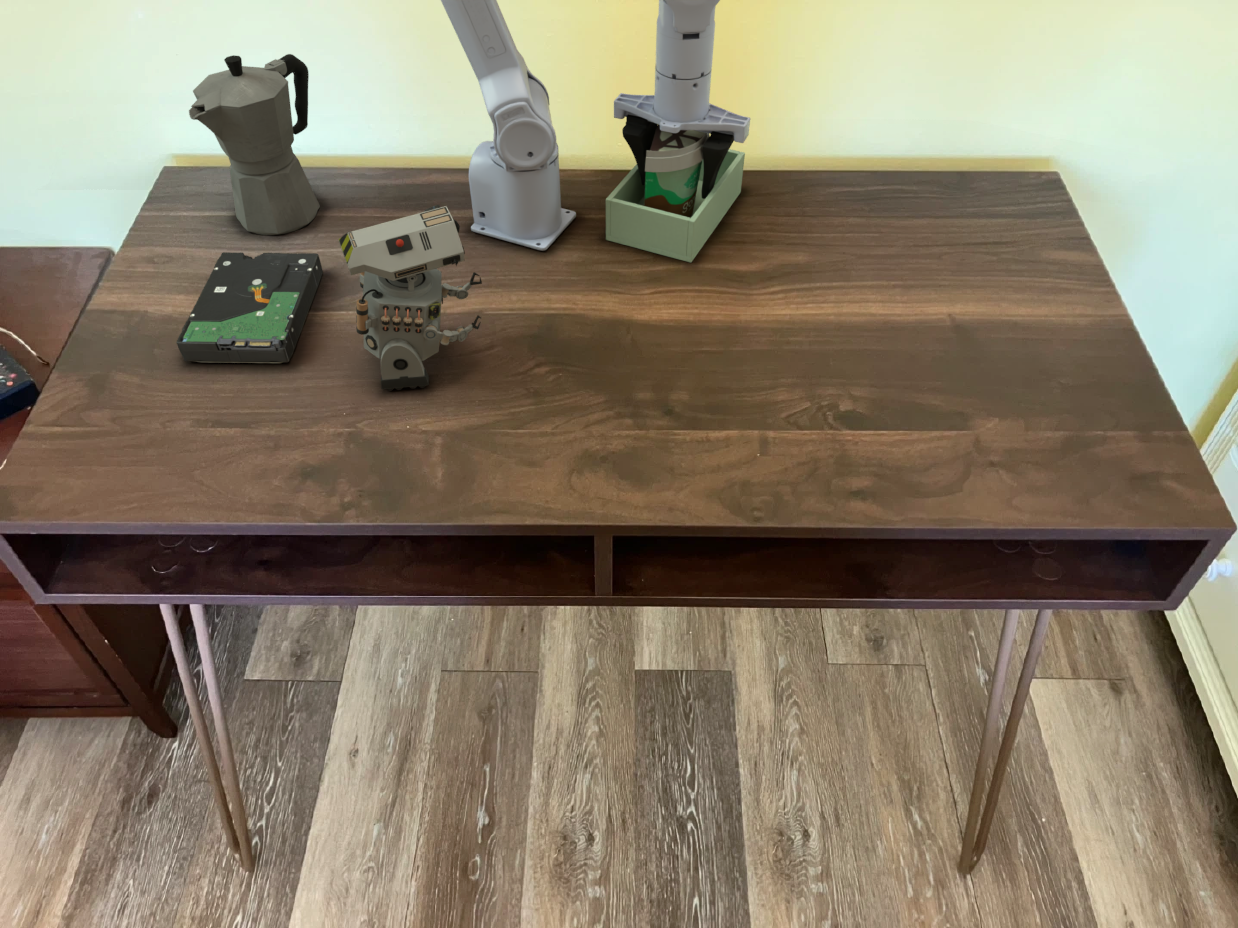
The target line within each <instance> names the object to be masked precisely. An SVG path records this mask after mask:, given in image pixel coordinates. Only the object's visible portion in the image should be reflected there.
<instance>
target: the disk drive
mask: <svg viewBox="0 0 1238 928" xmlns="http://www.w3.org/2000/svg"><path fill="white" fill-rule="evenodd" d="M323 273H324V270H323V267H322V263H321V259H320V255H319V253H315V252H312V253H308V252H304V253H303V252H302V253H301V252H300V253H299V252H298V253H295V252H294V253H293V252H292V253H289V252H262V253H261V254H259V255H257V256H254V258H253V257H252V256H249V255H247V254H246V255H245V253H244V252H237V251H236V252H231V251H230V252H225V251H223V252H221V254H220V256H219V258H218V259H217V260H216V262H215V264H214V266H213V269H212V270H211V272H210V275H209V277H208V279H207V280H206V283H205V285H204V286H203V289H202V291H201V293H200V295H199V296H198V298H197V300H196V302H195V304H194V306H193V308H192V310H191V312H190V314H189V315H188V318H187V320H186V321H185V323H184V325H183V327H182V328H181V332H180V334H179V335H178V337H177V340H176V345H177V348H178V350H179V352H180V354H181V356H182V359H183V361H184V362H197V363H223V364H224V363H227V364H228V363H232V364H233V363H234V364H235V363H237V364H240V363H242V364H243V363H248V364H251V363H252V364H282V363H288V362H290V360H291V358H292V356H293V354H294V351H295V348H296V346H297V343H298V340H299V338H300V335H301V333H302V330H303V327H304V324H305V321H306V319H307V316H308V314H309V311H310V308H311V306H312V303H313V301H314V298H315V296H316V292H317V290H318V287H319V285H320V281H321V278H322V276H323Z"/></svg>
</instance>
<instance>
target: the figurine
mask: <svg viewBox="0 0 1238 928" xmlns="http://www.w3.org/2000/svg"><path fill="white" fill-rule="evenodd" d="M460 228H461V227H460V224H459V222H458V221H457V220H456V219H454V218H453V216H452V214H451V211H450V210H449V209H448V205H445V206H441V205H440V204H434V205H433V206H430V207H427V208H426V209H424V210H423V212H418V213H415V214H412V215H411V214H410V215H407V216H403V217H400V218H396V219H393V220H388V221H385V222H382V223H378V224H374V225H370V226H367V227H364V228H359V229H356V230H352V231H349V232H346V233H345V234H344V235H342V236H341V237H340V238H338V239H337V240H338V243H339V246H340V248H341V252H342V254H343V257H344V261H345V264H346V266H347V268H348V271H349V273H350V276H354V275H358V274H359V287H360V288H361V289H362V297H361V298H358V299H357V300H356V307H355V312H356V315H355V323H356V330H355V331H356V333H357V334H359V335H360V336H361V335H362V336H363V349H365V350H366V351H368V352H369V354H370V353H371V354H372V355H373V356H374V357H376V358H378V359H379V360H380V390H387V391H389V392H391V391H393V390H394V389H395V390H397V391H401V390H402V389H403V388H410V389H412V390H413V389H414V390H415V389H417V387H419V388H420V389H424V388H426V386H429V385H430V383H429V382H430V380H429V379H430V377H429V374H428V371H427V369H426V368H425V367H424V364H423V362H424V361H425V360H427V359H429V358H431V357H432V356H434V355H435V354H437V353H439V350H440V345H443V346H449V345H450V342H451V343H453V342H456V341H458V342H460V343H461V342H464V341H465V340H466V339H467V337H468V333H470V332H471V331H473V329H475V330H479V329H480V326H481V321H479V319H482V316H480V315H479V314H478V315H477V316H476V317H475V318H474V321H473V322H471V323H470V324H468V325H467V326H465V327H464V326H462V325H460V326H458V327H457V328H456V329H455V330H450V329H449V330H448V329H444V330H443V331H441V318H442V317H441V315H442V305H444V299H447V297H450V298H451V297H455V298H456V299H458V300H465V299H467V298H468V296H469V290H470V289H471V288H472V287H473V286H476V285H482V284H483V282H482V278H481V275H480V274H478V273H477V272H475V271H474V272H473V273H472V275H471V277H470V280H469V281H468V282H467V283H466V284H464V285H457V286H453V285H450V284H448V283H446V282H445V283H442V282H443V281H442V279H443V278H442V271H441V270H439V269H440V268H444V267H447V266H451V265H455V266H456V267H457V266H458V265H459V263H461V262H464V261H466V259H465V258H466V257H465V254H466V252H465V251H466V250H465V248H464V245H462V241H461V238H460V235H459V232H460ZM475 276H477V277H479V281H475ZM478 321H479V323H478ZM477 323H478V324H477Z"/></svg>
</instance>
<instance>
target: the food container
mask: <svg viewBox="0 0 1238 928" xmlns="http://www.w3.org/2000/svg"><path fill="white" fill-rule="evenodd" d="M710 135H711V134H710V133H705V132H700V131H695V130H680V131H679V132H678V133H670V132H665V131H661V130H660V125H658V126H657V128H656V131H655V135H654V139H653V142H652V146H651V149H650V151H648V150H647V153H646V163H645V172H646V176H645V201H644V206H646V207H650V208H654V209H658V210H662V211H666V212H670V213H674V214H678V215H682V216H685V217H689V218H690V217H691V216H692V214H693V209H694V204H695V198H696V192H697V187H698V181H699V176H700V170H701V165H702V160H703V152H702V147H703V145H704V143H705V142H706V141H707V139H708V138H709V137H710Z"/></svg>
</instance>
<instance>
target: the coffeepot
mask: <svg viewBox="0 0 1238 928" xmlns="http://www.w3.org/2000/svg"><path fill="white" fill-rule="evenodd" d="M223 60H224V63H225V64H226V66H227V68H228V69H226V70H223V71H219V72H215V73H210V74H208V75H207V76H206V77H205V78H204V79H203V80H202V81H201V82H200V83H199V84H198V85H197V86H196V87H195V88H194V89H193V90H192V93H193V95H194V97H195V99H196V100H195V101H194V103H193V104H192V105H191V106H190V107H191V108H190V109H188V116H189V118H190V119H191V120H194V121H195V120H196V121H198V122H200V123H201V124H202V125H204V126H205V127H206V128H207V129H208V130H209V131H211V132H212V133H213V135H214V137H215V138H216V140H217V142H218V145H219V146H220V148H221V150H222V151H223V152H224V154H225V155H226V156H227V157H228V160H229V163H230V164H229V165H230V166H229V167H228V168H229V175H230V182H231V190H232V196H233V204H234V211H235V217H236V218H237V220H238V222H239V223H240V224H241V226H242V227H243V229H245V230H246V231H247V232H250V233H253V234H256V235H261V236H277V235H278V236H279V235H284V234H289V233H293V232H296V231H297V230H298V231H299V230H300V229H302V228H304V227H306V226H307V225H309V224H310V223H311V222H312V221H313V220H314V219H315V218H316V216H317V214H318V210H320V207H321V205H320V203H319V201H318V198H317V196H316V195H315V192H314V190H313V188H312V186H311V184H310V182H309V179H308V177H307V175H306V172H305V170H304V169H303V166H302V165H301V162H300V160H299V159H298V157H297V156H296V154H295V152H294V150H293V147H292V145H293V143H294V141H295V135H298V134H300V133H301V132H303V131H305V130H306V129H307V128H308V126H309V123H308V122H309V121H308V120H309V119H308V118H309V77H310V75H309V69H308V68H309V67H308V66H307V65H306V63H305V62H304V61H302V60H301V59H299V58H298V57H297V56H295V55H294V54H292V53H287V54H285V55H284V56H282V57H281V58H278V59H276V58H275V59H273V60H271V61H269V62H267V63H265V64H264V67H260V66H259V67H258V66H246V65H243V62H242V57H241V56H240V55H230V56H229V55H228V56H226V57H225V58H224V59H223ZM291 74H293V86H294V93H295V94H294V95H295V97H294V98H295V99H294V109H295V114H296V117H297V119H296V122H295V124H293V117H292V108H291V98H290V88H289V80H288V79H286V78H287V77H288V76H290V75H291Z"/></svg>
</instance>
